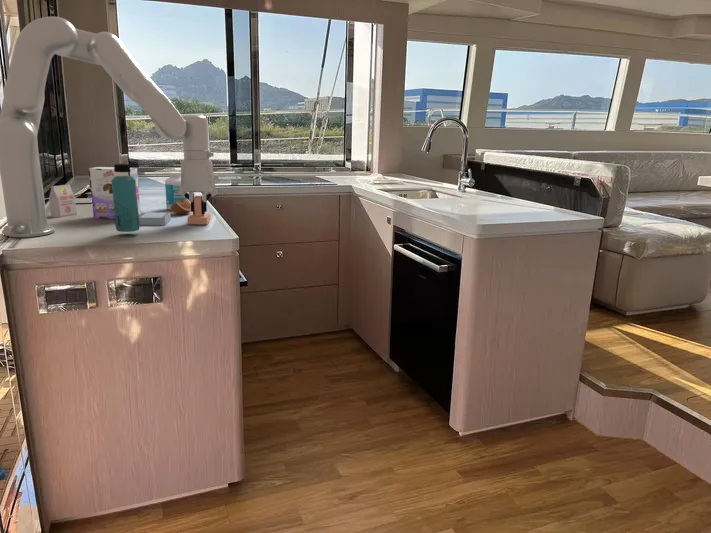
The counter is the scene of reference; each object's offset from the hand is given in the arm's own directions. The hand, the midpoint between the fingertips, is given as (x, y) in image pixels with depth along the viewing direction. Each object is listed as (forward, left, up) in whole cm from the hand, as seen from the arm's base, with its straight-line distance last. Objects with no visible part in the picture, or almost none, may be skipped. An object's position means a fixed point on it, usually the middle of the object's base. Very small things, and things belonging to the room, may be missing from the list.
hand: (199, 213), depth 172 cm
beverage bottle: (-19, +17, -3) cm, 26 cm away
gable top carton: (+12, +45, -3) cm, 47 cm away
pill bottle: (+26, +11, -3) cm, 29 cm away
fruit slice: (+16, +8, -3) cm, 18 cm away
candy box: (+8, +27, -3) cm, 29 cm away
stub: (0, 0, -3) cm, 3 cm away
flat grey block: (0, +15, -3) cm, 16 cm away
